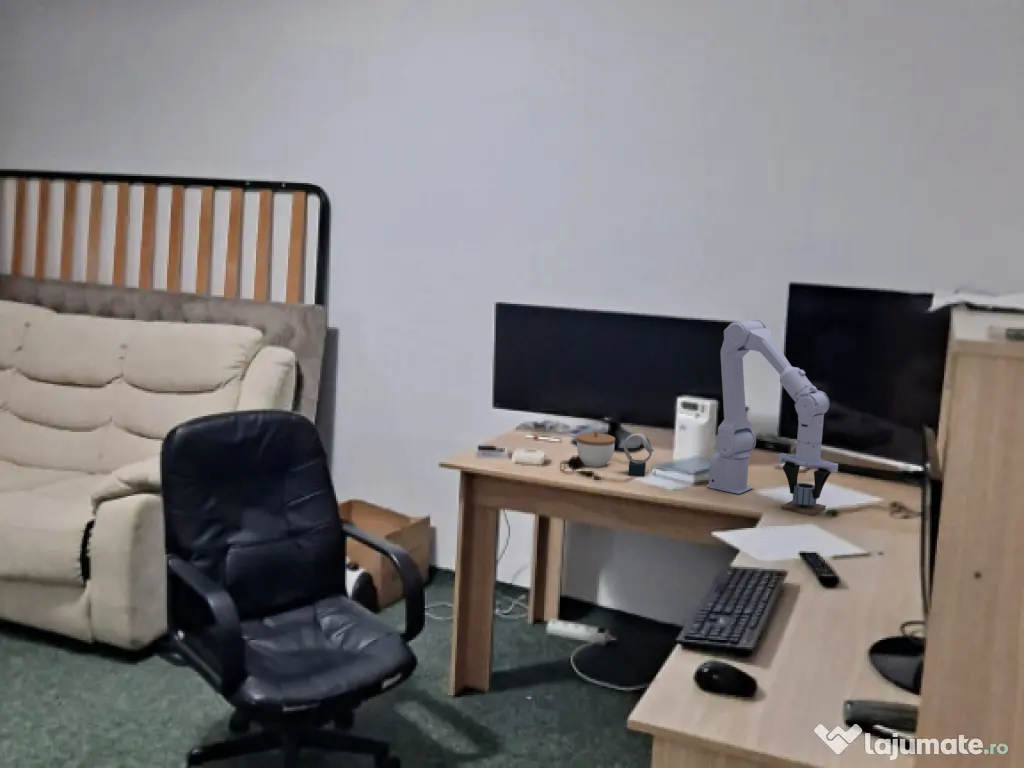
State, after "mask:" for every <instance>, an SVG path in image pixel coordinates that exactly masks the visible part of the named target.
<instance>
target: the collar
mask: <svg viewBox="0 0 1024 768" xmlns="http://www.w3.org/2000/svg"><path fill="white" fill-rule="evenodd" d="M814 487H815V484H814V483H813V484H812V483H807V482H797V483H795V484H794V488H793V494H792V500H793V502H795V503H797V504H803V505H813V504H817V499H814Z"/></svg>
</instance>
